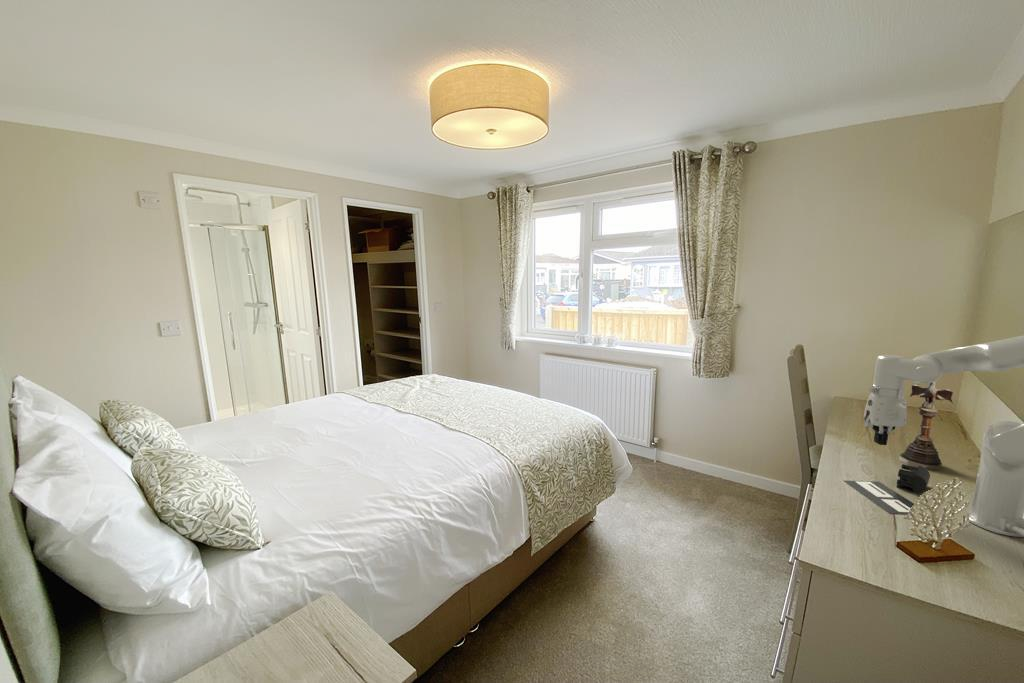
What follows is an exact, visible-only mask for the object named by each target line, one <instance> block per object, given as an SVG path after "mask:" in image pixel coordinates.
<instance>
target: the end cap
mask: <svg viewBox="0 0 1024 683" xmlns="http://www.w3.org/2000/svg"><path fill="white" fill-rule="evenodd" d="M897 477H899V478H898V479H897V480H896V488H897V489H900V490H903V491H907V492H911V493H915V494H916V493H920V492H923V491H925V490H926V489H927V488H928V484H929V482H930V479H931V474H930V472H929V470H928V469H925V468H923V467H921V466H919V467H915V466H911V465H908V464H905V463H901V466H900V468H899V470H898V472H897Z"/></svg>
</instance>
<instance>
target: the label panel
mask: <svg viewBox="0 0 1024 683" xmlns="http://www.w3.org/2000/svg"><path fill="white" fill-rule="evenodd" d="M855 481H856V480H843V482H844V483H846V484H847V485H849V486H851V488H853V489H854V490H856V491H857V492H858V493H860V494H862V496H864V497H866V498H867V499H868V500H869V501H871V502H873V504H876V506H878V507H879V508H881V509H882V510H884V511H885V512H886V513H887V514H890V515H891V514H892V515H893V514H894V515H909V514H908V513H909V512H899V511H897V510H896V509H894V508H893V507H891V506H890V505H888V504H887V503H885V502H884V501H882V500H881V499H888V500H898V501H900V502H902V503H903V504H905V505H906V506H908V507H909V508H911V507H912V506H913V505H914V504H915V503H914V502H912V501H911V500H909V499H908V498H906V497H904V496H903V495H902V494H900V493H898V492H897V491H895V490H894V489H891V488H890V487H888V486H887V485H885V484H884V483H882V482H881V481H870V480H869V481H865V480H864V481H863V480H857V481H858V482H871V483H872V484H874V485H876V486H877V487H879V488H880V489H882V490H883V491H885V492H886V493H888V494H889V495H891V496H892V497H894V498H891V497H877V496H875V495H874V494H872V493H871V492H869V491H868V490H866V489H865V488H864V487H862V486H861V485H859V484H858V483H856V482H855Z"/></svg>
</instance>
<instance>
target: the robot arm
mask: <svg viewBox="0 0 1024 683" xmlns="http://www.w3.org/2000/svg"><path fill="white" fill-rule="evenodd" d="M875 360H876V361H875V368H874V376H873V383H872V387H869V389H868V391H869V392H870V393H869V395H868V398H867V401H866V404H865V408H864V413H863V420H864V425H863V426H865V427H867V428H870V429H872V431H873V432H874V437H873V441H874V443H876V444H878V445H879V446H887V445H888V439H889V435H891V434H892V432H893V431H894V430H897V429H900V428H902V427H904V426H905V425H906V422H907V418H908V417H907V415H908V414H907V413H908V412H907V411H908V408H907V407H908V405H907V399H906V397H905V396H904V393H905V392H904V390H905V387H906V386H905V385H906V381H910V382H914V383H917V382H919V383H921V384H930V383H932V382H937V381H939V380H940V379H941V377H942V376H943V375H948V374H955V373H961V372H962V373H963V372H970V371H980V372H981V371H982V372H1004V371H1009V370H1014V369H1015V370H1016V369H1018V368H1019V369H1020V368H1024V334H1023V335H1018V336H1014V337H1009V338H1005V339H1000V340H999V339H998V340H994V341H989V342H983V343H978V344H972V345H968V346H962V347H961V346H960V347H956V348H951V349H950V348H949V349H944V350H940V351H936V352H930V353H926V354H922V355H921V354H920V355H918V356H916V357H914V358H913V359H911V358H910V359H909V358H907V357H905V356H901V355H897V354H880V355H878V356H877V357H876V359H875ZM982 436H983V437H982V443H981V453H980V458H979V465H978V470H977V475H976V479H975V480H976V481H975V486H974V490H973V496H972V501H971V502H972V503H971V507H967V508H968V510H969V521H968V522H969V523H971V524H972V525H975V526H977V527H980V528H981V529H985V530H986V531H989V532H993V533H996V534H1000V535H1004V536H1008V537H1014V538H1015V537H1017V538H1019V537H1020V538H1023V537H1024V423H1021V422H1017V421H1012V420H1000V421H995V422H993V423H992V424H990V425H988V426H987V427H986V429H985V430H984V433H983V435H982Z"/></svg>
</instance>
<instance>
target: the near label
mask: <svg viewBox="0 0 1024 683" xmlns="http://www.w3.org/2000/svg"><path fill="white" fill-rule="evenodd" d="M881 500H882V501H884V502H885V503H887V504H888V505H890V506H891V507H893V508H894V509H896V510H897V511H899V512H909V510H910V509H911V508H909V507H908V506H906V505H905V504H903V503H902V502H900V501H898V500H888V499H881Z"/></svg>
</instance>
